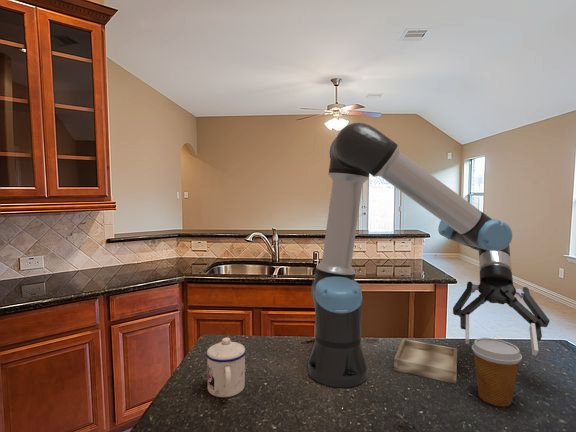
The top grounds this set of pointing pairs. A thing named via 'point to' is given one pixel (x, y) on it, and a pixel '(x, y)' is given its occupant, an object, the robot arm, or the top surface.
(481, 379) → the disposable coffee cup
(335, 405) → the top surface
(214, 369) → the teacup with lid
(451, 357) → the birch tray
